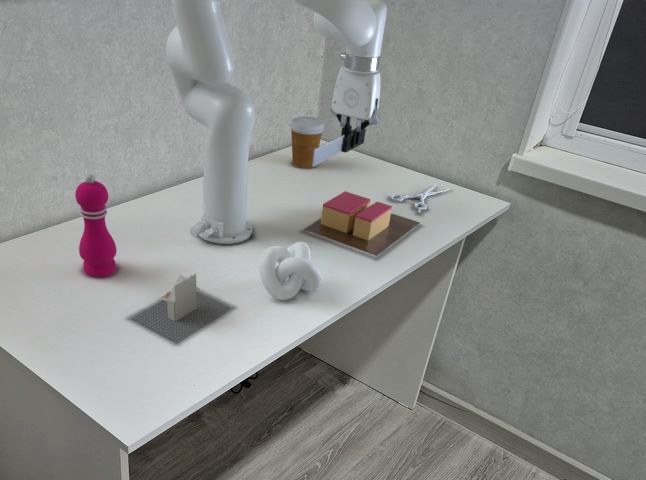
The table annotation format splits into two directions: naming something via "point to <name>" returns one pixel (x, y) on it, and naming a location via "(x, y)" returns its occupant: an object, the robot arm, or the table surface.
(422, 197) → the scissors
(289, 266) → the white knot sculpture
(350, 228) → the cake
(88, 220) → the pepper mill
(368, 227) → the cake slice
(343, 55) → the robot arm
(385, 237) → the cake board
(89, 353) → the table surface
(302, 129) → the disposable coffee cup
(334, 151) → the knife
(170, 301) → the architectural model
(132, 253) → the table surface
